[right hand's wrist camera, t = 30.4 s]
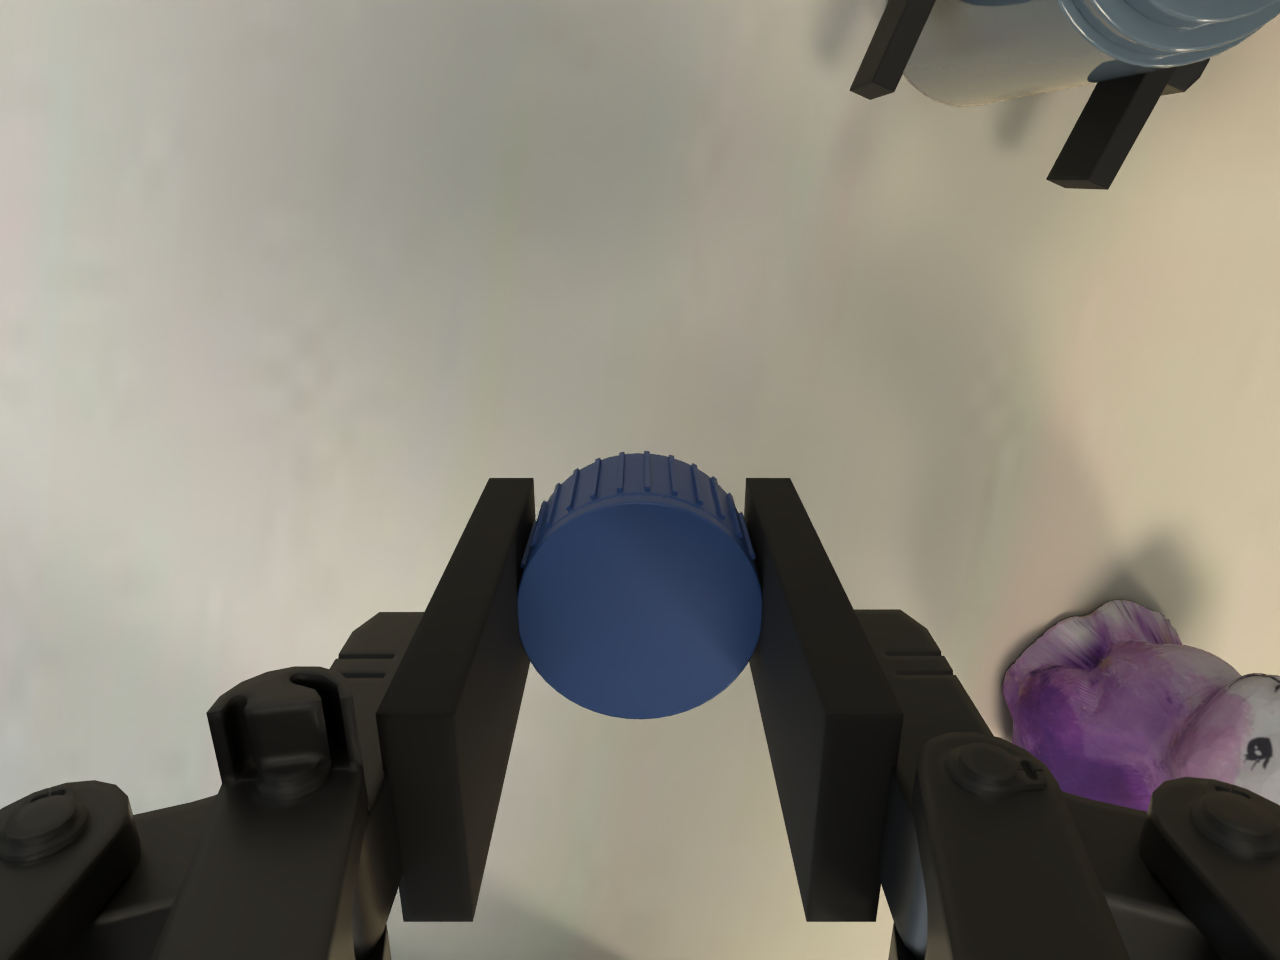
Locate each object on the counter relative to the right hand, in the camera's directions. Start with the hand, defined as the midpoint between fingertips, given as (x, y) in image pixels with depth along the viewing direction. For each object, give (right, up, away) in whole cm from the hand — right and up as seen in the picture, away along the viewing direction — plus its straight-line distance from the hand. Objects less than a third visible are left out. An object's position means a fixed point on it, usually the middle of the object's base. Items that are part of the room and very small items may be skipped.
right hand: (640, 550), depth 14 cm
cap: (0, -1, -2) cm, 2 cm away
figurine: (+22, -8, +26) cm, 35 cm away
